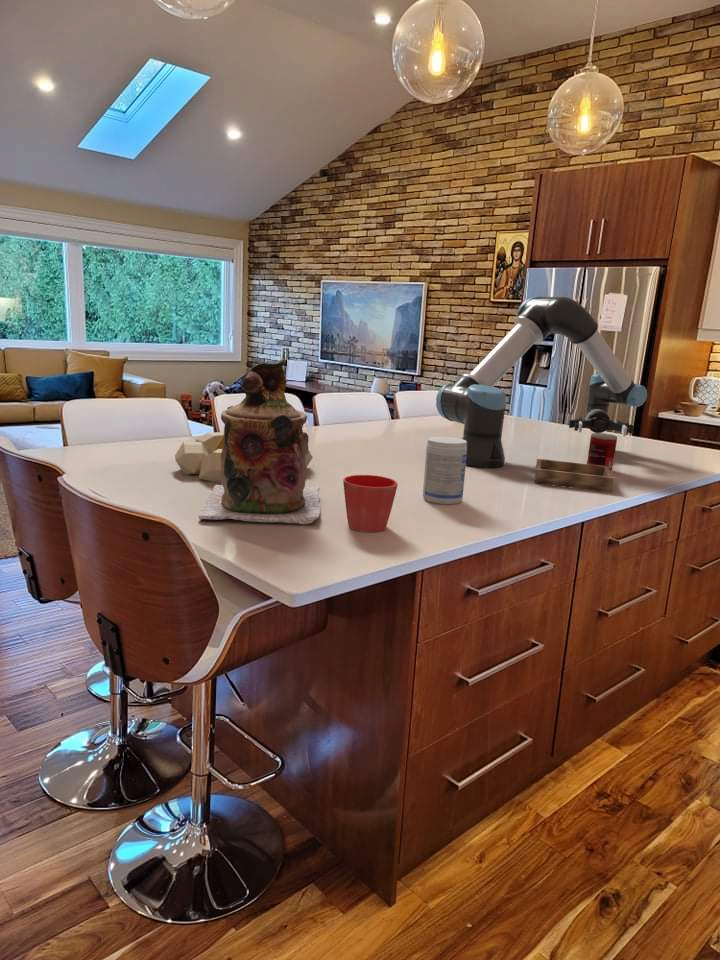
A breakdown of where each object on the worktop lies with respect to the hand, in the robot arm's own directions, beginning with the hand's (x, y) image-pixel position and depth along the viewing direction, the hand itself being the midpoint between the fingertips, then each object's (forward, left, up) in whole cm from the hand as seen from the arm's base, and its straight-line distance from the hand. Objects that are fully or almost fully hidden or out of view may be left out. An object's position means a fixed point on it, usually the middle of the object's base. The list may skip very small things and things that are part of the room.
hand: (602, 430), depth 207 cm
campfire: (-94, -65, -12) cm, 115 cm away
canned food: (0, -10, -11) cm, 15 cm away
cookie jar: (-75, -95, -11) cm, 122 cm away
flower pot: (-51, -98, -11) cm, 111 cm away
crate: (-9, -32, -11) cm, 35 cm away
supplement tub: (-40, -70, -11) cm, 82 cm away
